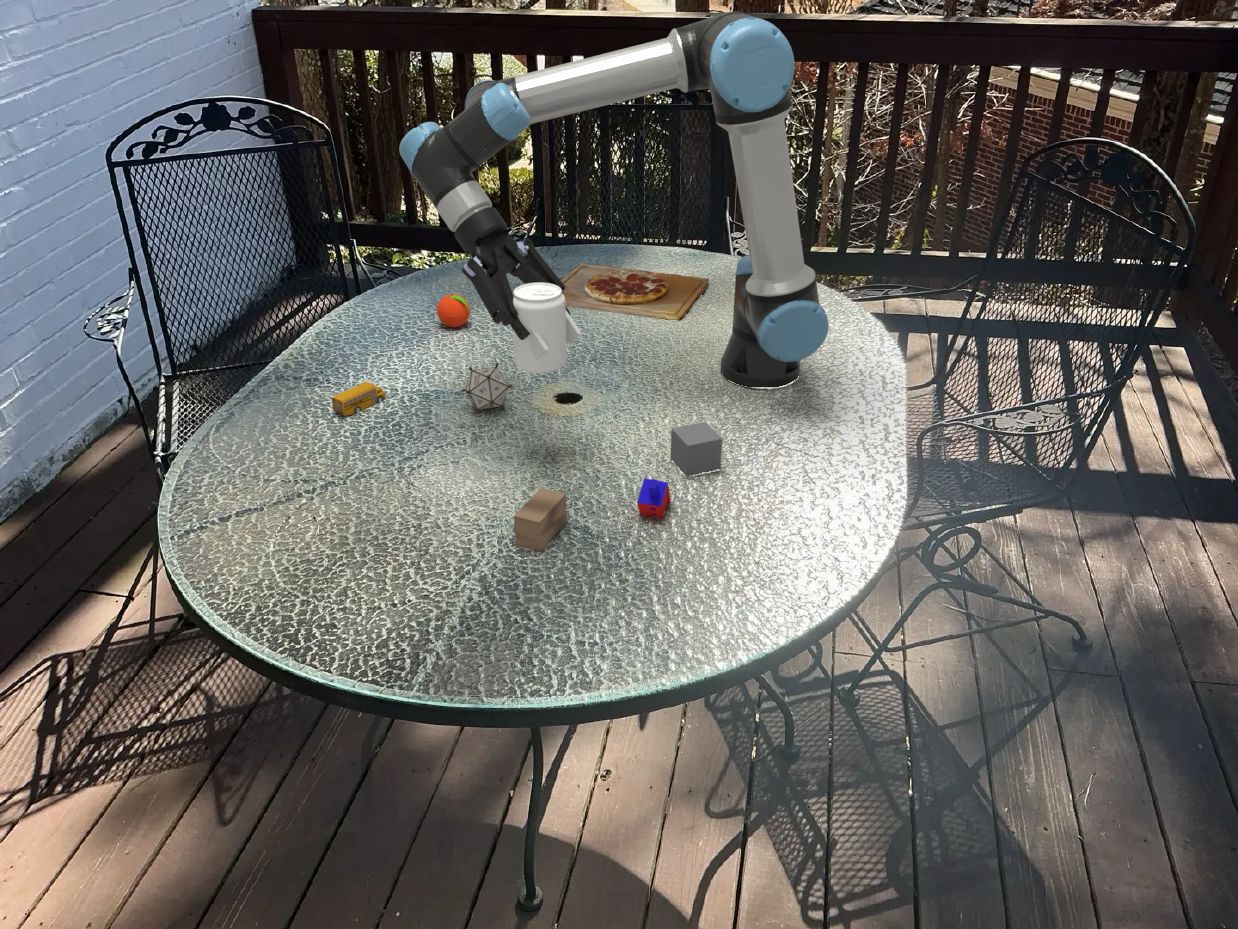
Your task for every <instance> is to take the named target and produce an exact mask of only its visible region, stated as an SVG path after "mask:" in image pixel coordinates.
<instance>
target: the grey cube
mask: <svg viewBox="0 0 1238 929" xmlns="http://www.w3.org/2000/svg"><path fill="white" fill-rule="evenodd" d="M670 431H671V433H670V458H671V460H673V461H674V463H675V464H676V466H678V467H679V468H680V470H681V471H682V472H683V473H684V474H685V475H686V477H687V476H690V475H694V474H695V475H696V474H699V473H702V472H709V471H713V470H716V469H720V470H721V466H722V465H721V464H722V450H723V448H722V446H723V438H722V437H721V436H720V435H719V434H718V433H717V432H716V431H715V430H714V429H713V428H712V427H711V426H710V424H708V422H706V421H701V422H697V423H692V424H688V425H686V424H685V425H682V426H681V425H680V426H677V427H672V428H671V430H670ZM671 460H670V461H671ZM676 466H675V467H676Z"/></svg>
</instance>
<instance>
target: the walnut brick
mask: <svg viewBox="0 0 1238 929" xmlns="http://www.w3.org/2000/svg"><path fill="white" fill-rule="evenodd" d="M567 514H568V513H567V495H566V493H564V492H560V491H557V490H553V489H548V488H544V487H540V488H539V489H538V490H537V491H536V492H535V493H534V495H533V496H532V497H531V498H529V500H528V501H526V503H525V504H524V505H523V506H522V507H521V508H520V509H519V510H518V511H517V512H516V513H515V514H514V515H513V520H514V522H513V523H514V535H515V545H517V546H521V547H525V548H528V549H532V550H535V551H539V552H542V551H543V549H545V547H546V546H547V545H548V544H549V543H550V541H552V540H553V538H554V537H555V536H556V535H557V533H558V532H559V531H560V530H561V529H562V528H563V527H564V525H565V524H566V523H567V521H568V520H567Z"/></svg>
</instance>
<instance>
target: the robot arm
mask: <svg viewBox="0 0 1238 929" xmlns="http://www.w3.org/2000/svg"><path fill="white" fill-rule="evenodd" d="M794 75H795V56H794V52H793V50H792V46H791V45H790V42H789V40H788V39H787V37H785V34H784V33H782V31H781V30H780V28H778V27H777V26H775V24H773V23H771V22H770V21H769V20H768V21H767V20H765V19H763V18H760V17H759V18H758V17H756V16H754V15H751V14H749V13H747V12H743V11H742V12H741V11H728V12H723V13H720V14H718V15H714V16H710V17H708V18H705V19H702V20H700V21H696V22H692V23H689V24H687V25H683V26H680V27H676V28H673V29H671V31H670V32H669V33H668V36H667V37H666V38H661V39H657V40H653V41H648V42H645V43H642V44H637V45H633V46H629V47H626V48H622V49H618V50H614V51H613V50H612V51H609V52H606V53H602V54H599V55H594V56H591V57H587V58H586V57H585V58H583V59H582V58H581V59H578V60H575V61H570V62H565V63H562V64H559V65H555V66H550V67H547V68H541V69H538V70H535V71H534V70H533V71H531V72H527V73H523V74H519V75H516V76H513V77H508V78H504V79H500V80H499V79H498V80H491V79H484V80H481V81H479V82H477V83H475V84H474V85H473V87H471V88H470V89H469V91H468V93H467V95H466V97H465V100H464V110H463V111H462V112H461V113H459V114H458V115H457V116H456V117H454V118H453V119H451V121H450V122H449V123H446V125H445V126H443V127H441V126H440V125H439V124H438V123H437V122H435V121H426V122H423V123H420V124H419V125H418V126H416V127H414V128H412V129H410V131H408V132H407V133H406V134H405V135H404V137H403V138H402V139H401V141H400V143H399V146H398V148H399V149H398V150H399V155H400V156H401V159H402V160H403V162H404V164H405V165H406V166H407V168H408V170H409V172H410V174H411V177H412V178H414V179H415V182H417V184H418V186H420V188H421V189H422V191H423V192H424V193H425V195H426V196H427V197H428V200H430V202H431V204H432V205H433V206H434V208H435V210H436V211H437V212H438V214H439V216H440V217H441V218H442V220H443V221H444V222H445V224H446V225H447V227H448V229H449V230H450V231H451V232H453V233H454V238H455V239H456V241H457V242H458V243H459V245H460V246H461V248H462V250H463V251H464V253H466V254H467V255H469V256H471V258H469V259H468V260H467V262H466V263H465V264H464V265H463V267H462V268H461V273H462V274H464V275H465V277H467V279H469V281H470V282H471V283H472V286H473V288H475V291H476V292H477V295H478V296H479V298H480V299H481V301H482V304H483V305H484V307H485V308H486V310H487V312H488V314H489V315H490V317H491V319H492V320H493V322H494V323H495V324H500V323H501V324H502V325H503V326H504V327H508V326H510V327H511V329H512V331H513V330H514V332H515V333H516V334H517V336H518V337H519V339H521V340H524V339H525V338H526V337H528V336H529V335H530V334H531V352H532V353H533V355H534V356H535V358H536V359H538V358H540V357H541V356H542V355H543V354H544V353H545V352H546V351H548V350H549V348H548V346H547V345H546V344H545V342H544V341H543V339H542V338H541V336H540V335H539V334H537V333H536V332H534V331H533V330H532V329H531V328H530V332H531V333H530V332H529V331H528V330H527V329H526V328H525V327H524V326H523V324H522V323H521V322H520V320H519V318H518V317H517V316H518V312H517V310H516V309H515V307H514V304H513V299H514V297H513V295H514V293H513V291H512V288H511V286H510V283H509V279H508V277H507V274H510V275H511V276H513V277H515V278H518V279H519V281H521V282H522V283H523V284H528V283H550V284H554V285H557V286H559V287H560V288H561V290H562V293H563V291H564V290H565V286H564V284H563V283H562V282H561V281H560V278H559V277H558V275H556V273H555V272H554V271H553V269H552V268H551V267H550V266H549V264H548V263H547V262H546V260H545V259H544V258H543V256H542V255H541V254H540V253H539V252H538V251H537V248H536V247H535V245H534V242H533V240H532V239H531V238H529V237H526V238H525V239H524V240H523V241H516V239H514V238H513V237H511V235H510V234H509V232H508V224H507V223H506V221H505V220H504V218H503V217H502V215H501V214H500V212H499V211H498V210H497V208H495V207H493V202H492V201H491V199H490V198H489V196H488V195H487V193H486V192H485V190H483V188H482V186H481V185H480V184H479V182H478V180H477V179H476V178H475V176H474V175H473V172H475V171H476V170H477V169H479V167H481V166H482V165H483V164H485V163H486V162H487V161H488V160H490V159H491V158H492V157H493V156H495V154H497V153H498V152H500V151H501V150H502V149H503V148H505V146H508V145H509V144H510V143H511V142H513V141H515V140H516V139H518V138H519V136H520V135H521V134H522V133H523V132H524V131H525V130H526V129H527V128H528V127H529V126H530V125H533V124H536V123H540V122H545V121H550V120H553V119H557V118H560V117H564V116H569V115H573V114H576V113H581V112H584V111H589V110H593V109H597V108H601V107H605V106H608V105H613V104H617V103H620V102H625V101H629V100H633V99H637V98H641V97H642V98H643V97H645V96H649V95H653V94H654V95H655V94H657V93H661V92H665V91H666V92H667V91H669V90H673V89H679V90H680V91H681V92H683V93H684V94H685V93H689V92H693V91H698V90H705V89H706V90H710V93H711V98H712V105H713V111H714V115H715V120H716V124H717V125H718V126H719V127H721V128H722V129H724V130H725V131H727V133H728V138H729V144H730V149H731V155H732V161H733V162H732V163H733V166H734V167H733V168H734V173H735V178H736V185H737V190H738V197H739V201H740V208H741V214H742V219H743V225H744V232H745V238H746V242H747V247H748V253H749V254H747V255H744V256H742V257H741V258H739V259H738V261H737V264H736V269H735V270H736V271H735V273H734V275H735V283H734V284H735V285H734V296H733V297H734V300H733V315H732V316H733V317H732V327H731V328H732V330H731V332H732V333H731V335H730V337H729V340H728V343H727V345H726V346H725V349H724V352H723V354H722V356H721V361H720V374H721V375H722V374H723V376H724V377H725V378H726V379H727V380H726V379H725V378H724V377H723V376H722V377H723V378H724V379H725V380H726V381H728V380H730V381H732V382H734V383H736V384H739V385H743V386H747V387H779V386H783V385H786V384H788V383H790V382H792V381H794V380H796V379H797V378H798V376H799V377H800V375H799V374H800V373H801V361H802V360H805V359H806V358H808V357H810V356H812V355H813V354H815V353H816V352H817V351H818V350H819V348H820V347H821V346H822V345H823V344H824V342H825V341H826V339H827V337H828V334H829V327H830V326H829V320H828V319H829V318H828V315H827V314H826V310H825V309H824V307H823V306H822V305H821V304H820V303H821V302H820V300H819V299H820V298H819V291H818V290H819V289H818V285H817V284H818V283H817V278H816V272H815V269H813V268H811V266H808V265H807V264H806V263H805V260H804V253H803V252H804V251H803V243H802V237H801V230H800V223H799V216H798V210H797V202H796V197H795V196H796V195H795V189H794V181H793V174H792V166H791V159H790V151H789V144H788V138H787V130H786V124H785V123H786V122H785V119H786V117H787V116H788V115H789V113H790V111H791V110H792V109H793V105H794V104H793V98H792V91H791V85H792V82H793V79H794ZM581 334H582V332H581V330H580V328H579V327H578V326H577V323H576V322H575V321H574V320H573V318H572V317H571V312H570V310H569V309H568V306H566V339H567V341H568V343H572V342H573V341H574V340H575V339H576V338H578V336H580V335H581ZM798 379H799V378H798ZM736 384H735V385H736ZM739 385H738V386H739Z"/></svg>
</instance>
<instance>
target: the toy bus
mask: <svg viewBox="0 0 1238 929" xmlns="http://www.w3.org/2000/svg"><path fill="white" fill-rule="evenodd" d="M385 399H386V391H384V389H383V388H382V387H380V386H376V385H375V384H374V383H372V382H368V381H364V382H362V383H360V384H358V385H357V384H356V385H355V386H353V387H351V388H349V389H346V390H344V391H342V392H340V393H338V394H336V395H334V396H332V397H331V404H332V405H331V406H332V410H333V411H334V412H336V413H338V414H340V415H342V416H351V415H354V414H355V413H357V414H359V413H360V412H361V411H363V410H365V409H367V408H369V407H370V406H371V407H372V406H373V405H375V404H377V403H378V404H379V403H381V401H382V402H383V400H385ZM359 411H360V412H359ZM358 412H359V413H358Z"/></svg>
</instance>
